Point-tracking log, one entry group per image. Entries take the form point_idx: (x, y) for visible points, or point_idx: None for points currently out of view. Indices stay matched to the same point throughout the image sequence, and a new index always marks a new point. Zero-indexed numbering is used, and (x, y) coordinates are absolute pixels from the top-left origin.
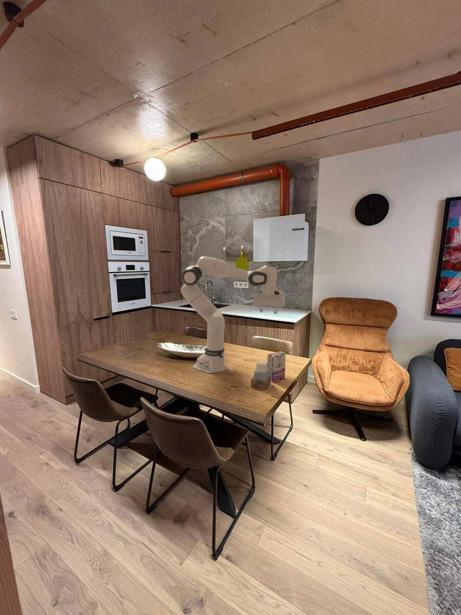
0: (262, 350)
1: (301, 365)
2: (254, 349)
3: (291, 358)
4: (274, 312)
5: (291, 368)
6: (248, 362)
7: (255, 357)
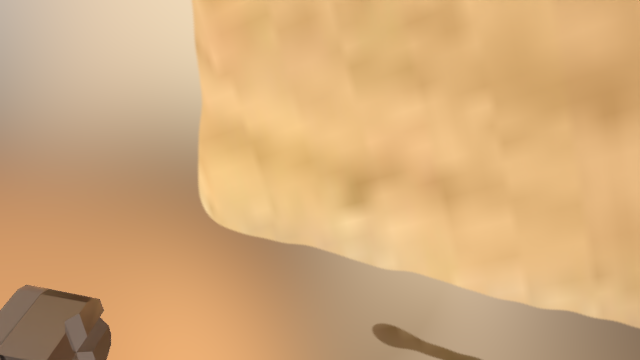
0: (540, 302)
1: (206, 119)
2: (611, 308)
3: (302, 215)
4: (65, 318)
5: (251, 40)
6: (636, 34)
7: (580, 162)
